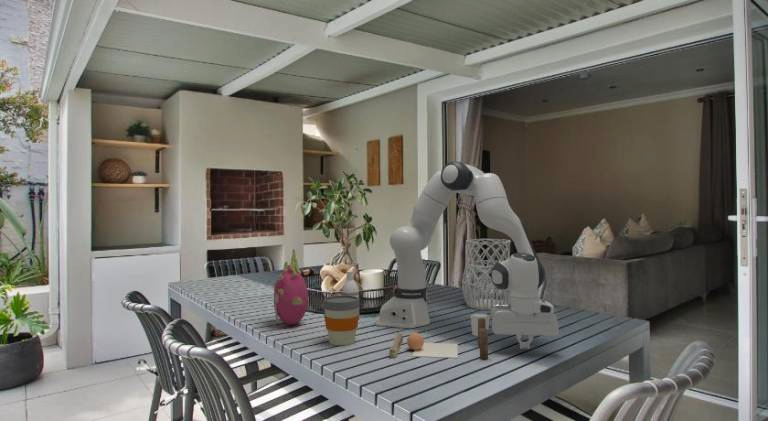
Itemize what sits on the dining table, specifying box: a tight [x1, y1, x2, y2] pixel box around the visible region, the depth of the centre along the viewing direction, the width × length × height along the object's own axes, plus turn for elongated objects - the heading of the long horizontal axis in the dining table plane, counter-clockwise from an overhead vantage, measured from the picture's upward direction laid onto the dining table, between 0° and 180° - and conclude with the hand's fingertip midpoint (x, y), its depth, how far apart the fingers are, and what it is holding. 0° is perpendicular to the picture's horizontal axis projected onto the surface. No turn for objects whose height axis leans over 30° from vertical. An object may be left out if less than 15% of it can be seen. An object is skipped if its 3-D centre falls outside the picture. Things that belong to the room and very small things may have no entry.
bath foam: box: [341, 270, 360, 320], centre depth 197 cm, size 7×7×20 cm
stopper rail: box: [389, 333, 404, 359], centre depth 157 cm, size 2×18×2 cm, turn 171°
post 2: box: [479, 328, 489, 361], centre depth 146 cm, size 2×2×9 cm
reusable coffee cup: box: [322, 295, 360, 346], centre depth 166 cm, size 13×13×15 cm
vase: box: [461, 238, 511, 311], centre depth 218 cm, size 24×24×30 cm
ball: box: [406, 332, 425, 351], centre depth 155 cm, size 6×6×6 cm
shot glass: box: [469, 312, 491, 337], centre depth 172 cm, size 7×7×7 cm
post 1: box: [477, 318, 486, 348], centre depth 158 cm, size 2×2×9 cm
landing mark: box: [412, 342, 459, 359], centre depth 155 cm, size 14×14×1 cm
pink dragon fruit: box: [273, 249, 309, 326], centre depth 189 cm, size 18×14×30 cm
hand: (524, 348), depth 150 cm, fingers closed
